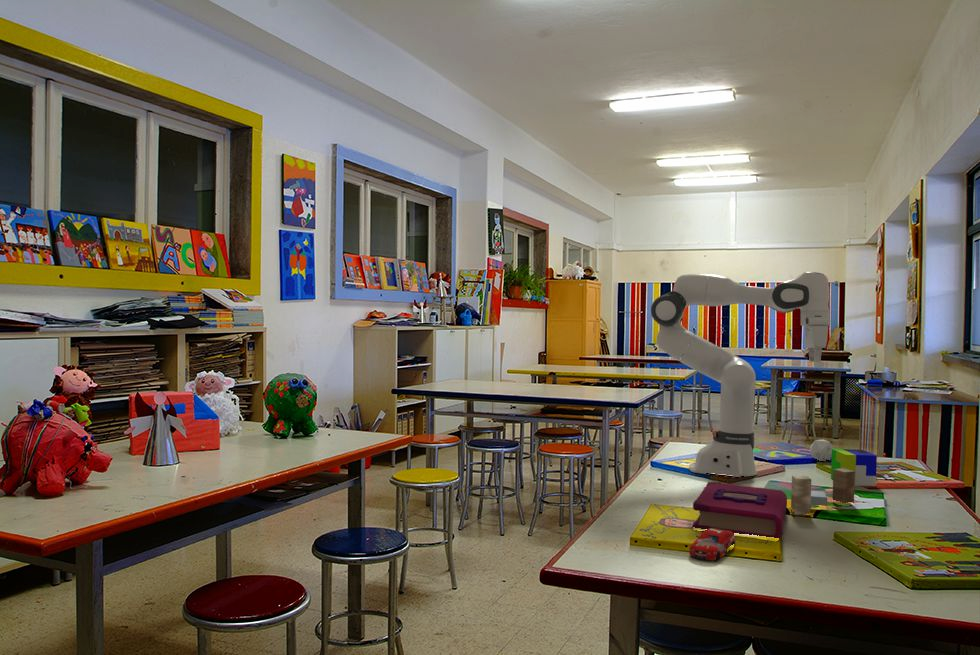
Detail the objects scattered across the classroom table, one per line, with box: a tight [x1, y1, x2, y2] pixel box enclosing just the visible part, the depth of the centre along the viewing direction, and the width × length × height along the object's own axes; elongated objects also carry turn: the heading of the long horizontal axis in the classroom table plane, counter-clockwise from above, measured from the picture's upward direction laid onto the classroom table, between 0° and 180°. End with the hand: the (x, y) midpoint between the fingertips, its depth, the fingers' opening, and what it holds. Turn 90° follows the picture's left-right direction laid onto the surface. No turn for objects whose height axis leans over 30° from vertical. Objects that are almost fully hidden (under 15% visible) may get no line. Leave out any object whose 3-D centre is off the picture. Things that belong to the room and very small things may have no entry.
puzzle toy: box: [830, 448, 878, 487], centre depth 241 cm, size 10×10×10 cm
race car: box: [688, 528, 736, 562], centre depth 167 cm, size 16×7×5 cm, turn 142°
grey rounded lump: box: [809, 439, 835, 462], centre depth 276 cm, size 8×9×10 cm
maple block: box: [790, 474, 812, 516], centre depth 201 cm, size 4×4×10 cm
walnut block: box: [832, 468, 856, 504], centre depth 211 cm, size 4×4×10 cm
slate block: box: [811, 490, 828, 507], centre depth 208 cm, size 7×7×4 cm
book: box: [692, 481, 788, 540], centre depth 191 cm, size 21×28×8 cm
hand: (814, 362), depth 242 cm, fingers open, 8 cm apart
